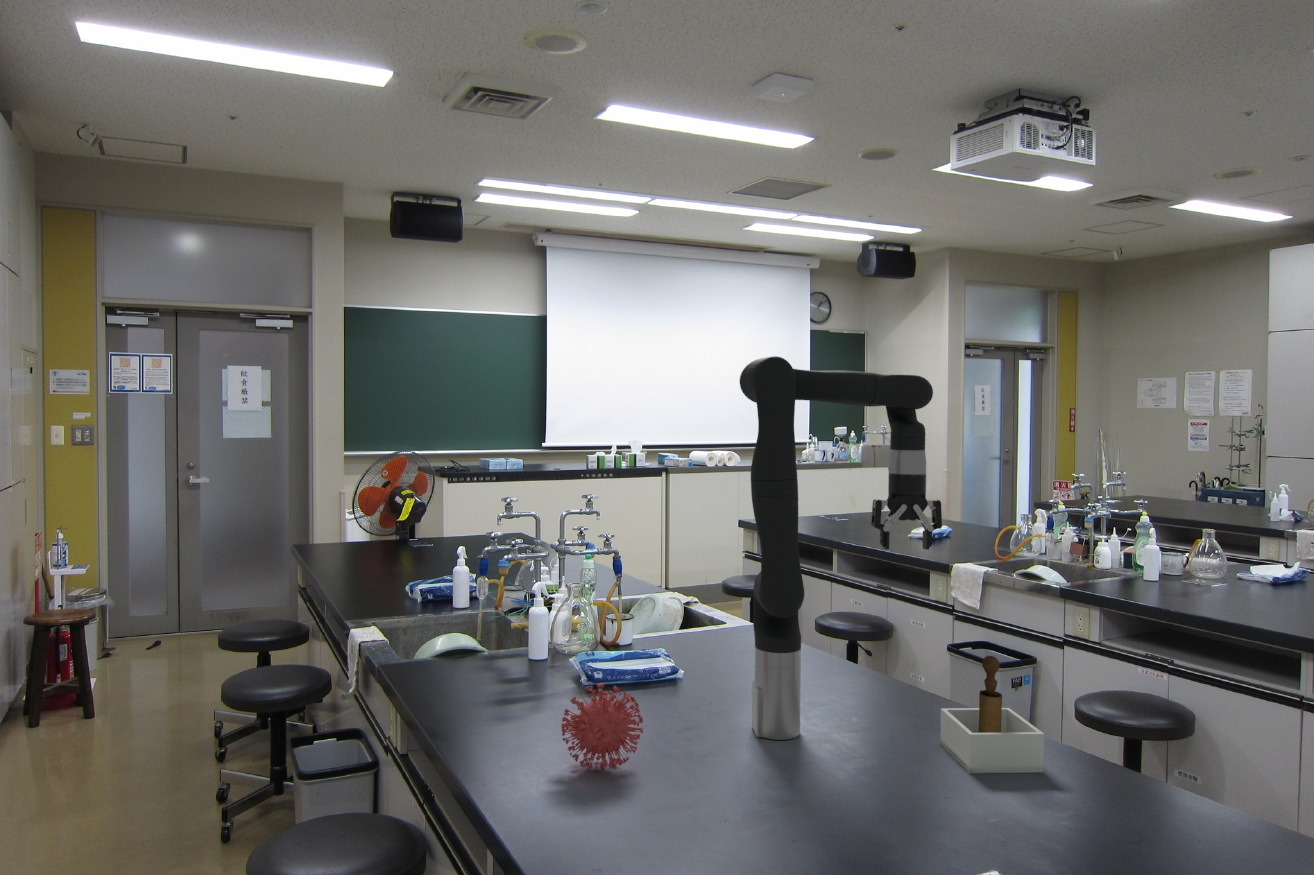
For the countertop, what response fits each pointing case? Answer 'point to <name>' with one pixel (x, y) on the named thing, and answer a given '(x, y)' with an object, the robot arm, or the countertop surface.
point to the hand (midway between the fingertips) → (906, 549)
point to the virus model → (603, 727)
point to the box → (992, 742)
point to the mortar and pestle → (990, 699)
